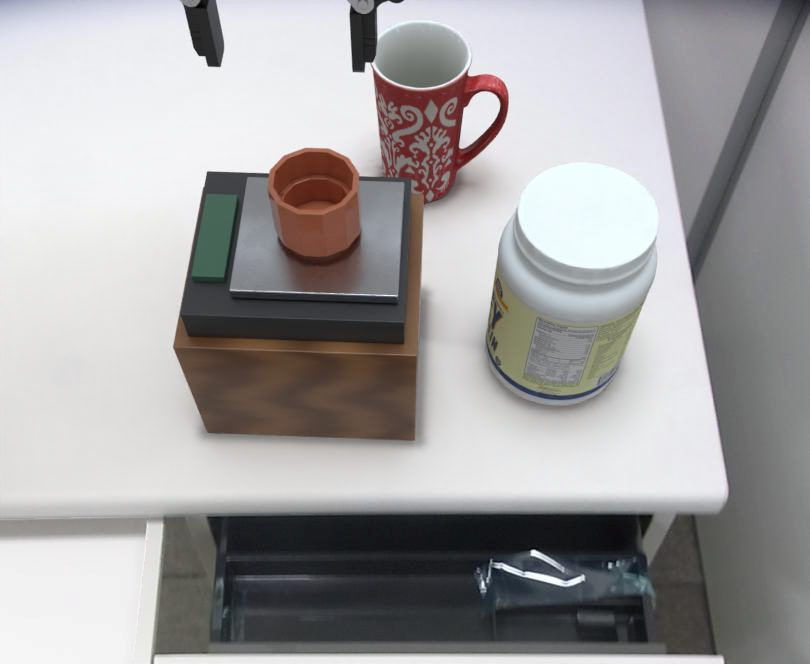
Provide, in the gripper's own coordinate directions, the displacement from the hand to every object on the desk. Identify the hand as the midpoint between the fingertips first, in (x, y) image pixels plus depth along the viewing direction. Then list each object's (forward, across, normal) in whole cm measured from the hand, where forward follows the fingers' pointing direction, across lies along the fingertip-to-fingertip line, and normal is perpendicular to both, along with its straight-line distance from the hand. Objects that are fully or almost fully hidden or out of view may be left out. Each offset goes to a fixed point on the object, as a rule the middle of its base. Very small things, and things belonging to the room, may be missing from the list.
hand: (287, 61), depth 50 cm
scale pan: (+14, -1, +1) cm, 14 cm away
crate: (+29, +1, 0) cm, 29 cm away
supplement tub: (+29, -20, -1) cm, 35 cm away
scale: (+17, +1, +1) cm, 17 cm away
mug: (+29, -9, -22) cm, 37 cm away
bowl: (+13, -1, 0) cm, 13 cm away
